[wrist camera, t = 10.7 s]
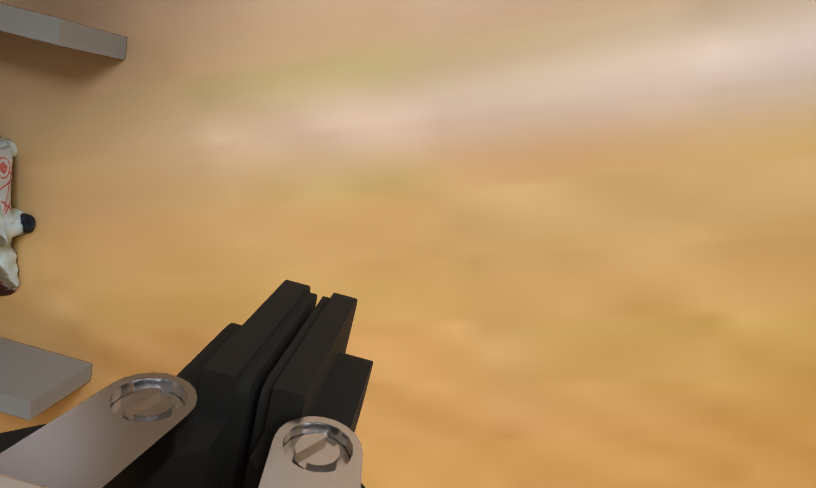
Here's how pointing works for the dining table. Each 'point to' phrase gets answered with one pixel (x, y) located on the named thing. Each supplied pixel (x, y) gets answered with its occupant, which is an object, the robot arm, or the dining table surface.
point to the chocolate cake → (9, 221)
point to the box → (8, 360)
